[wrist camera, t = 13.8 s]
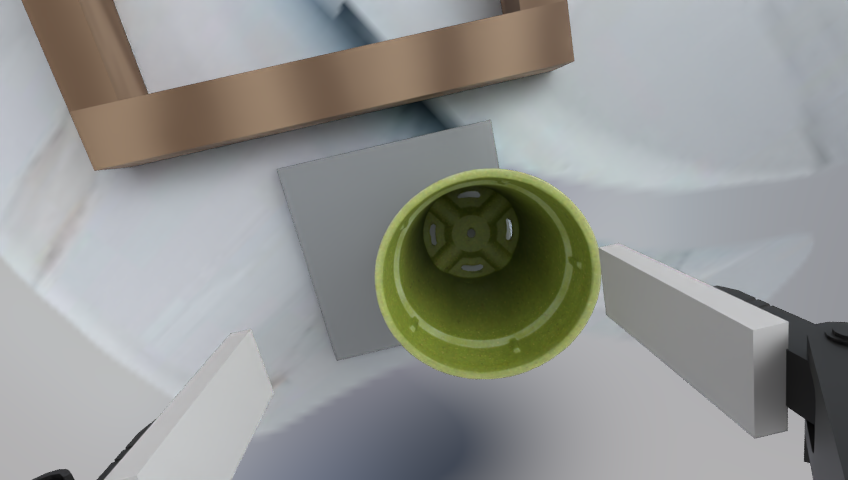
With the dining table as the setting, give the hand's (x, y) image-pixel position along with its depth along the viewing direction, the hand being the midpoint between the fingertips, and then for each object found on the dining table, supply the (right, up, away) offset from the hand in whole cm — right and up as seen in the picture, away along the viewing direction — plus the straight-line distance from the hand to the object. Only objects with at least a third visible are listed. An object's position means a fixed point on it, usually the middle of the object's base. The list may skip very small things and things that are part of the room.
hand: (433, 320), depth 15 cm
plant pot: (+3, +4, +10) cm, 11 cm away
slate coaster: (-1, +3, +12) cm, 12 cm away
